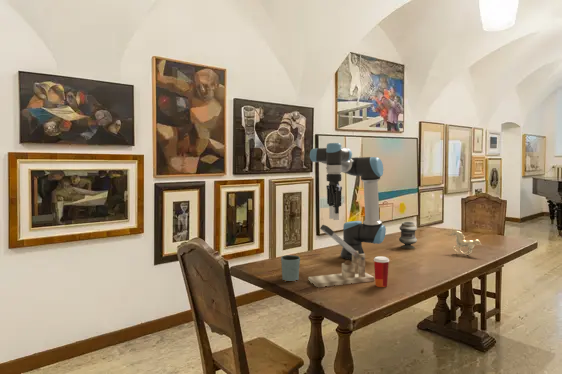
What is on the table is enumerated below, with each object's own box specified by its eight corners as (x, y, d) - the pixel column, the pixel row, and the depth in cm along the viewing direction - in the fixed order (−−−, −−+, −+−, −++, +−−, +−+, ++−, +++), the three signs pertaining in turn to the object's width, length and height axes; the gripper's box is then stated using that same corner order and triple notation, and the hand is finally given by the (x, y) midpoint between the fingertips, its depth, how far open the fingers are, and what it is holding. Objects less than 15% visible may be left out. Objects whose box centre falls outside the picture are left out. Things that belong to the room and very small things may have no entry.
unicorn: (482, 256, 255) (483, 230, 254) (480, 258, 253) (480, 231, 251) (451, 252, 269) (451, 227, 268) (448, 253, 267) (449, 227, 266)
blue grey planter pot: (289, 275, 218) (289, 254, 218) (304, 279, 212) (304, 256, 211) (277, 280, 211) (277, 257, 210) (292, 283, 204) (292, 260, 203)
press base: (362, 274, 219) (362, 249, 218) (374, 280, 207) (374, 254, 206) (308, 280, 209) (308, 254, 208) (317, 287, 198) (317, 259, 197)
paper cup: (386, 283, 203) (386, 255, 203) (391, 287, 196) (391, 259, 195) (371, 283, 203) (371, 256, 202) (375, 288, 196) (375, 260, 195)
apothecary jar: (399, 249, 281) (399, 223, 280) (399, 245, 292) (399, 221, 291) (417, 249, 277) (417, 224, 276) (416, 246, 289) (416, 221, 288)
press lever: (355, 258, 213) (358, 254, 214) (361, 261, 208) (364, 256, 208) (319, 228, 206) (322, 224, 206) (324, 230, 200) (327, 226, 201)
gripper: (320, 173, 210) (320, 217, 212) (334, 174, 194) (334, 221, 196) (333, 173, 213) (333, 216, 214) (348, 173, 196) (348, 221, 198)
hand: (334, 219), depth 205 cm, fingers open, 4 cm apart
